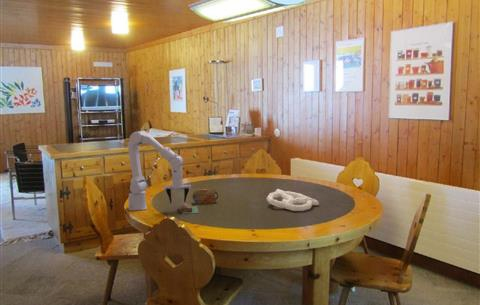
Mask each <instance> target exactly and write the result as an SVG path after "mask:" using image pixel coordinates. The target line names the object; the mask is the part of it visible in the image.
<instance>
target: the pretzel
mask: <svg viewBox="0 0 480 305" xmlns="http://www.w3.org/2000/svg"><path fill="white" fill-rule="evenodd" d="M276 198H281V199H282V200H278V199H276ZM266 201H267V202H268V203H269V204H270V205H271V206H272V205H273V206H274V207H277V208H281V209H287V210H290V211H293V212H305V211H308V210H311V208H312V207H313V206H315V205H316V206H318V205H319V204H320V203H319V202H320V201H318V199H315V198H311V196H308V195H304V193H299V192H294V191H290V190H287V191H286V190H283V189H280V188H277V189H276V190H275V191H273V192H270V193H269V194H268V195H267V197H266Z"/></svg>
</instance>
